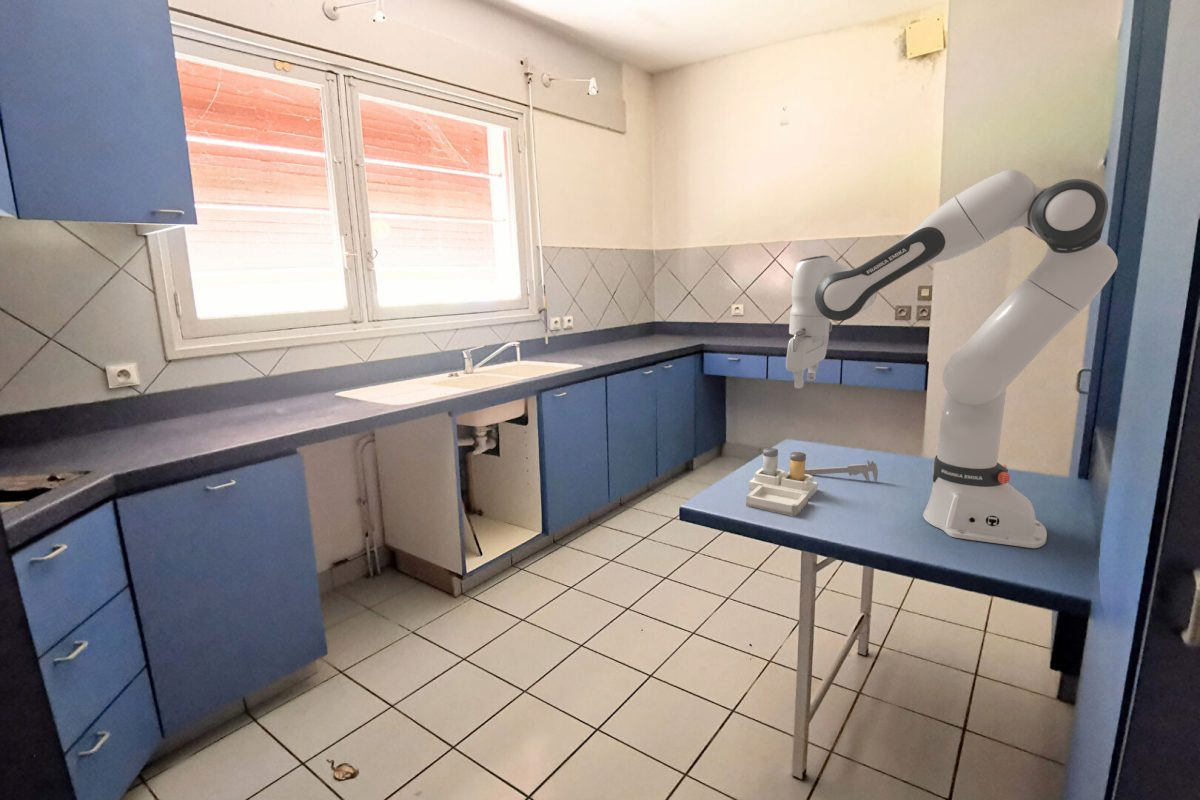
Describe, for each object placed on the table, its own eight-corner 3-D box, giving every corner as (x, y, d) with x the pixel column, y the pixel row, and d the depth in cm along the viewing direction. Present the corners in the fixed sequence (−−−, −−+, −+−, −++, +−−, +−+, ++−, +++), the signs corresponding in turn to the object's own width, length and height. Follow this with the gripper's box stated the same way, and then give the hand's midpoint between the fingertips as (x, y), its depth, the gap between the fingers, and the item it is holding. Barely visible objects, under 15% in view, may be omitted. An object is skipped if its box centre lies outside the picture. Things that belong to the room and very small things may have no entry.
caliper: (877, 482, 156) (878, 459, 154) (876, 484, 155) (878, 461, 154) (795, 473, 164) (796, 451, 163) (794, 474, 164) (795, 452, 162)
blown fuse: (806, 483, 151) (807, 453, 149) (801, 488, 148) (803, 457, 146) (791, 480, 153) (793, 451, 151) (787, 485, 150) (788, 455, 148)
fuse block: (817, 489, 152) (819, 452, 150) (807, 500, 146) (809, 461, 143) (760, 479, 160) (761, 443, 158) (748, 488, 154) (749, 452, 152)
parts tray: (807, 503, 144) (808, 493, 144) (795, 516, 137) (796, 506, 136) (759, 493, 151) (760, 484, 150) (746, 505, 144) (746, 496, 143)
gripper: (809, 332, 131) (804, 394, 134) (834, 322, 147) (829, 377, 150) (780, 331, 134) (777, 390, 138) (808, 321, 150) (804, 375, 154)
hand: (804, 384), depth 144 cm, fingers open, 8 cm apart
